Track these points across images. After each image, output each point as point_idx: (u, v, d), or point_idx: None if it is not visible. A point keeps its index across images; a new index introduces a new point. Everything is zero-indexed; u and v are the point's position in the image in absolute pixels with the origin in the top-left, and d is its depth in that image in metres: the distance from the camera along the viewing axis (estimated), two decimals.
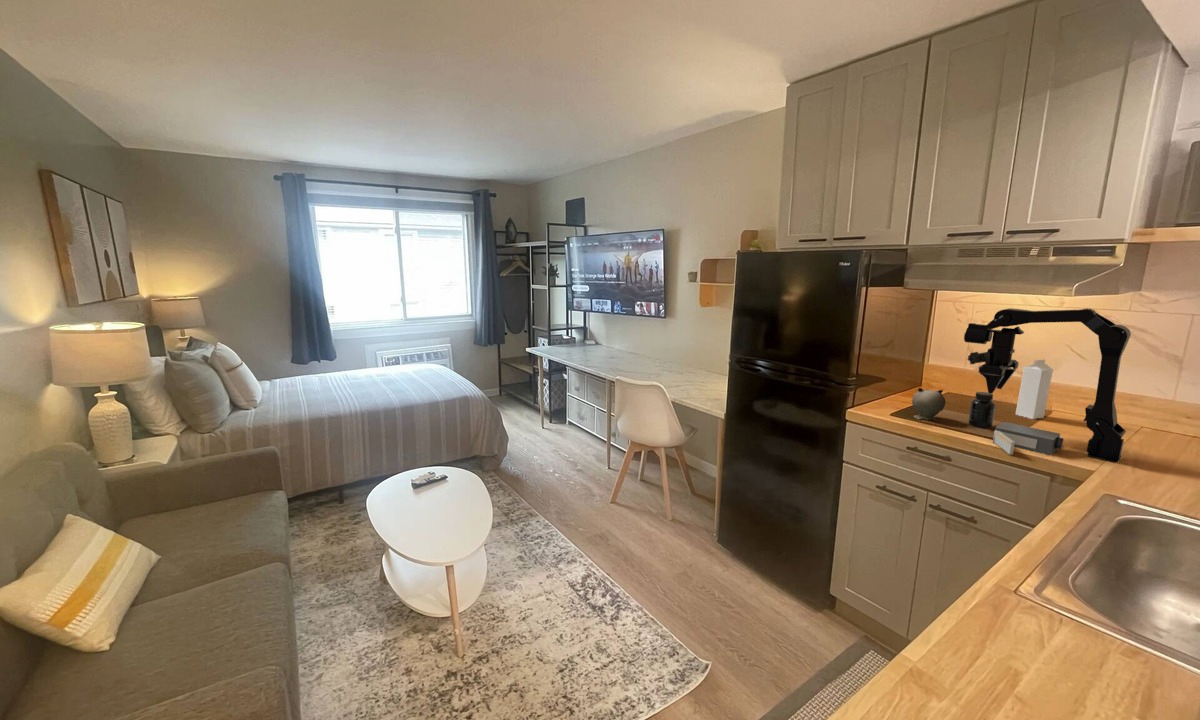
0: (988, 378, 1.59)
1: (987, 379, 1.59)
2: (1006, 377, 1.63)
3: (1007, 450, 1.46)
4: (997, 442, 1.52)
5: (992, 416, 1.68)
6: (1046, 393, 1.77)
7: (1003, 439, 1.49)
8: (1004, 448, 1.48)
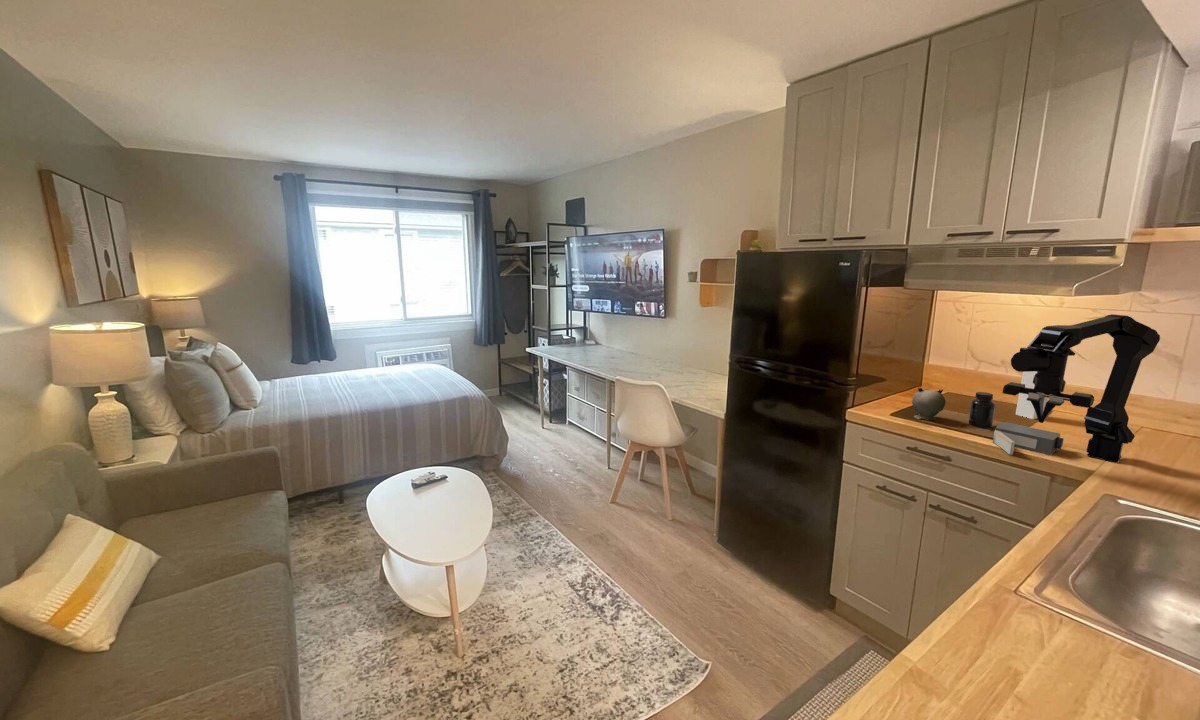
0: None
1: None
2: None
3: (1007, 450, 1.46)
4: (997, 442, 1.52)
5: (992, 416, 1.68)
6: None
7: (1003, 439, 1.49)
8: (1004, 448, 1.48)
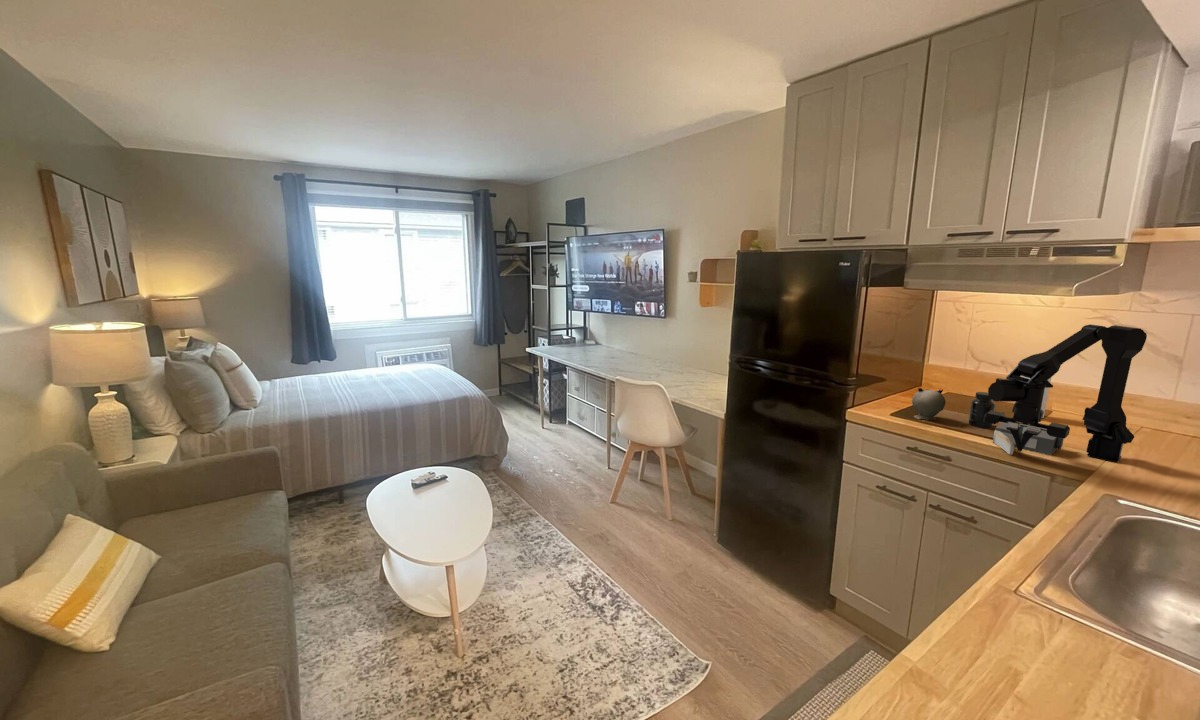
0: None
1: None
2: None
3: (1007, 450, 1.46)
4: (997, 442, 1.52)
5: None
6: (1046, 393, 1.77)
7: (1003, 439, 1.49)
8: (1004, 448, 1.48)
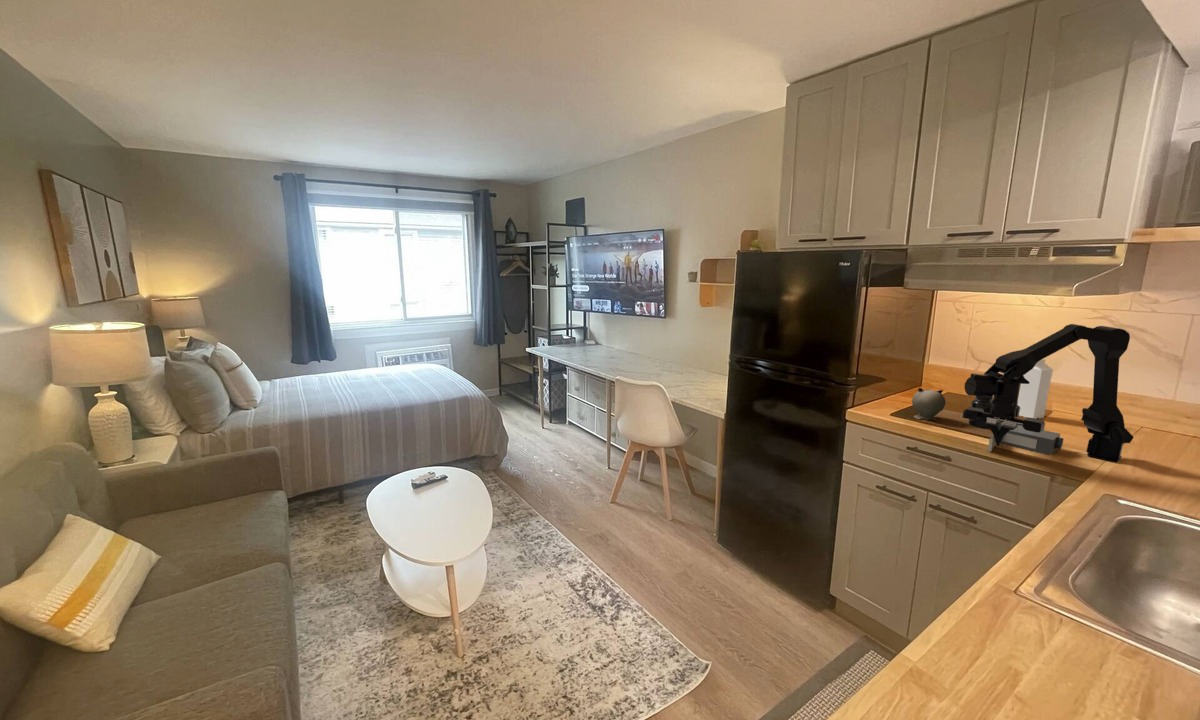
0: None
1: None
2: None
3: None
4: None
5: None
6: (1046, 393, 1.77)
7: None
8: None
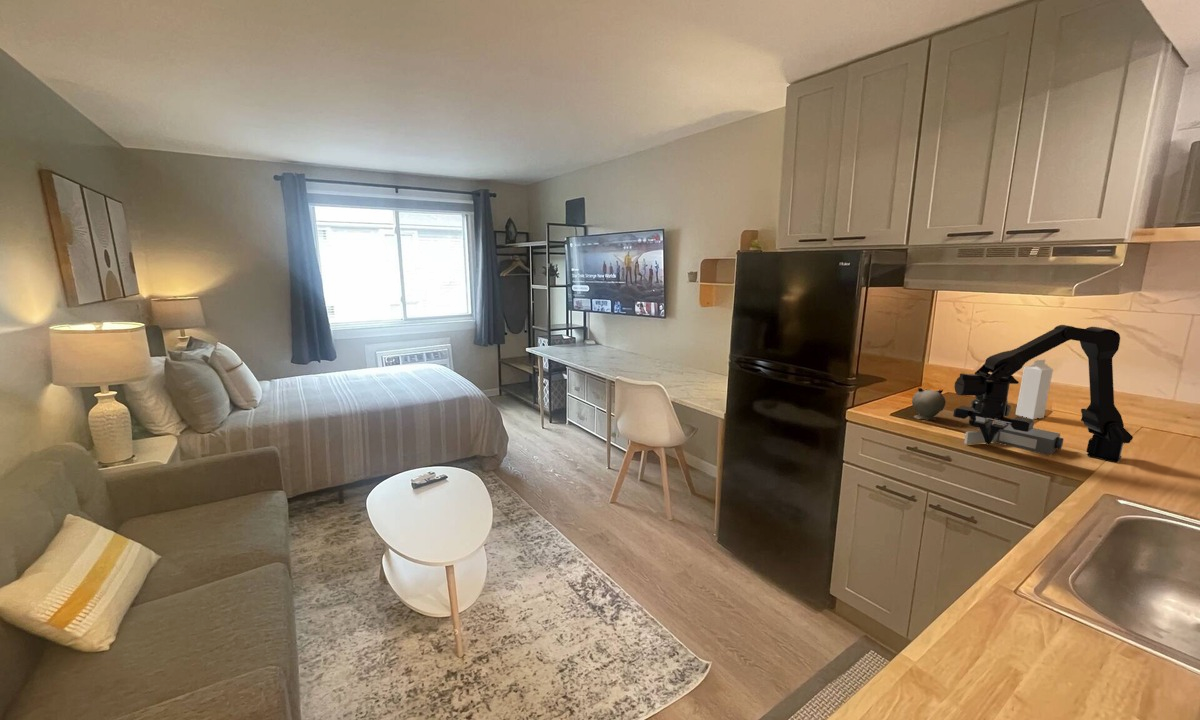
0: None
1: None
2: None
3: None
4: None
5: None
6: (1046, 393, 1.77)
7: None
8: None
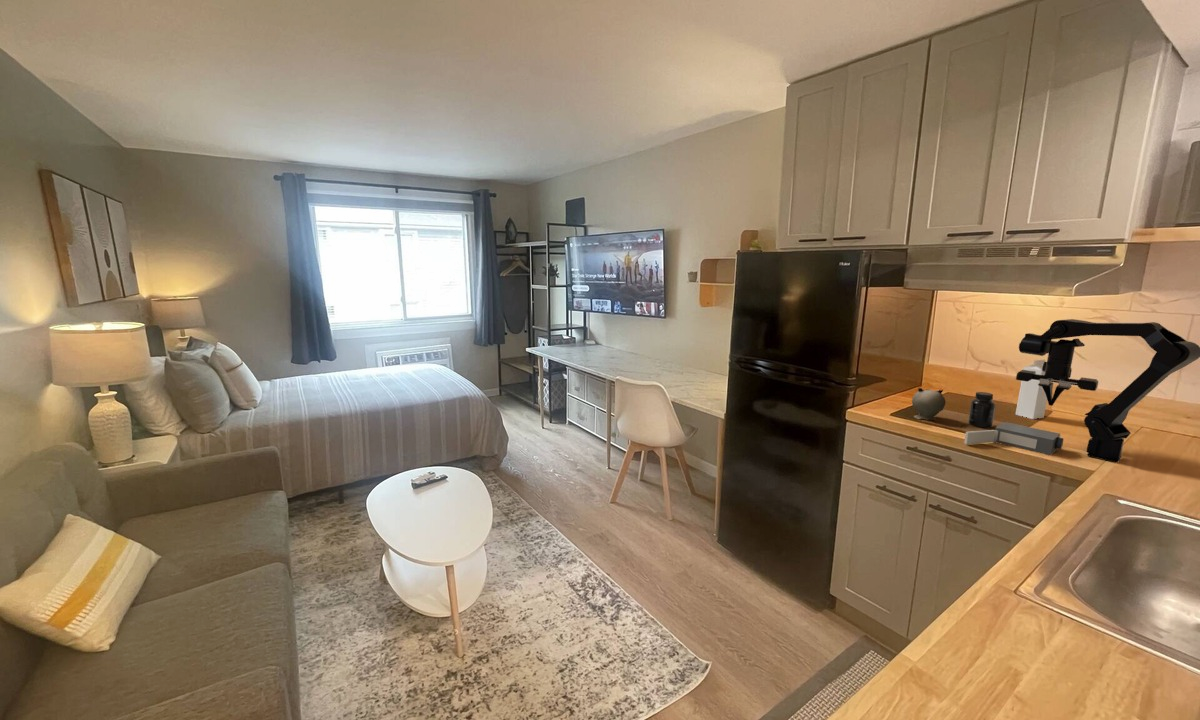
0: None
1: None
2: None
3: None
4: None
5: (992, 416, 1.68)
6: None
7: None
8: None
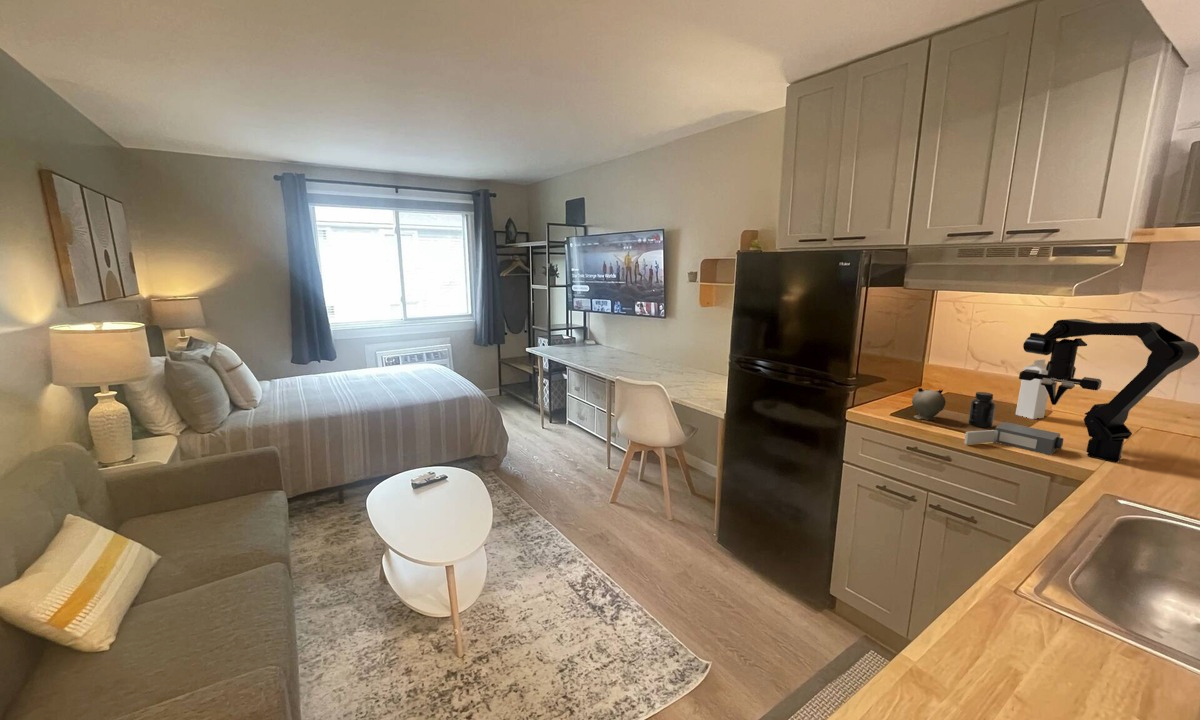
0: None
1: None
2: None
3: None
4: None
5: (992, 416, 1.68)
6: (1046, 393, 1.77)
7: None
8: None
